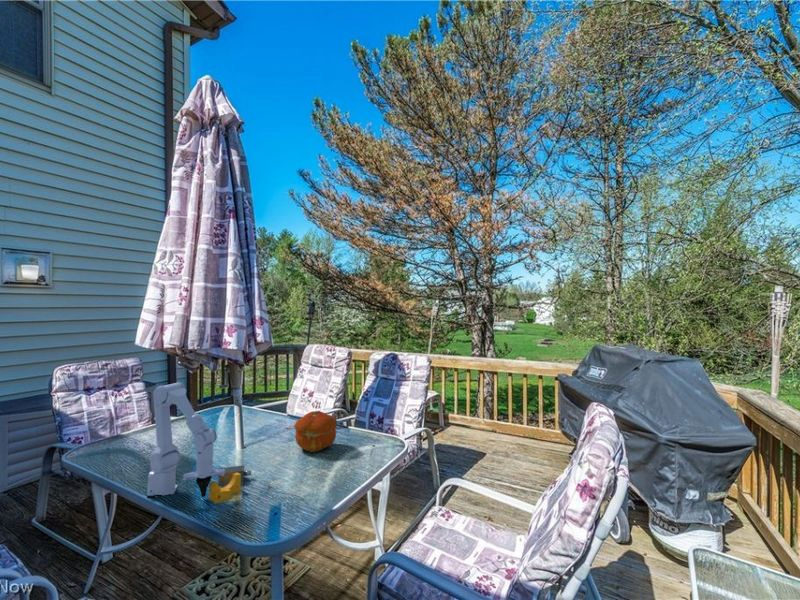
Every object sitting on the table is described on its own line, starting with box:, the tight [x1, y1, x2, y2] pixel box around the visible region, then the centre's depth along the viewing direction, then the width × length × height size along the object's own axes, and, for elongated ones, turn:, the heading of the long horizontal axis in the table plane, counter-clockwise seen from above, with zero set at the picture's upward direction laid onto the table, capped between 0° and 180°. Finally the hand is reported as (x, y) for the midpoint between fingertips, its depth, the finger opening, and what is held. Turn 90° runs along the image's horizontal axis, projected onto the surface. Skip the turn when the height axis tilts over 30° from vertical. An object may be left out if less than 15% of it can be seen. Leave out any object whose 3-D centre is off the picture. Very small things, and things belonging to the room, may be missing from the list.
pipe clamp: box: [208, 473, 241, 504], centre depth 154 cm, size 12×4×6 cm, turn 146°
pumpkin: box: [294, 410, 338, 453], centre depth 207 cm, size 23×23×20 cm
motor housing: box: [213, 465, 252, 505], centre depth 160 cm, size 13×22×5 cm, turn 20°
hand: (203, 495), depth 151 cm, fingers closed
